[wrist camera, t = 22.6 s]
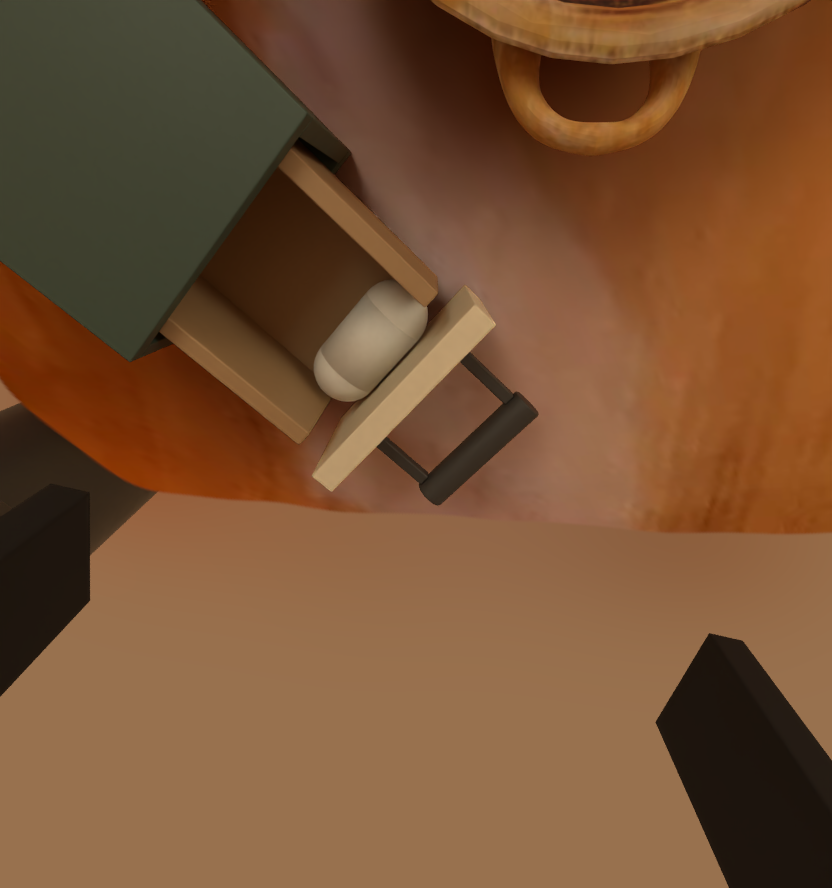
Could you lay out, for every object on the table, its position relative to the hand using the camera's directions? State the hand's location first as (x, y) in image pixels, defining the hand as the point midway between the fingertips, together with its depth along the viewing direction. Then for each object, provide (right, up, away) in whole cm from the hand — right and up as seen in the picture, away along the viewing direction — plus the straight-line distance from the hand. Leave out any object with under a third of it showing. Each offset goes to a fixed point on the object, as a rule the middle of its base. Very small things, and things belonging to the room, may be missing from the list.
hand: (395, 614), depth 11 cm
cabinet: (-12, +19, +15) cm, 27 cm away
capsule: (-3, +10, +14) cm, 17 cm away
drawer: (-2, +10, +17) cm, 20 cm away
